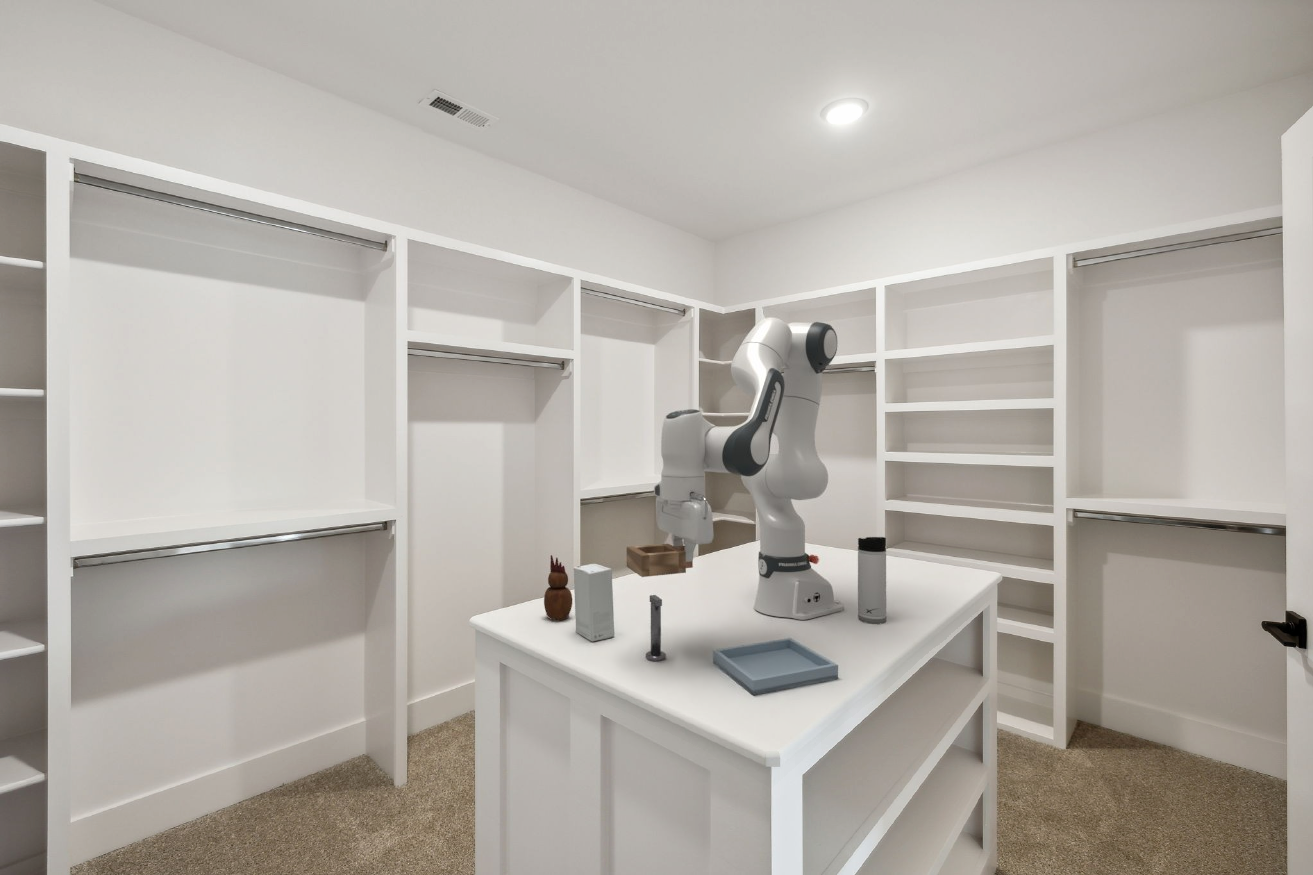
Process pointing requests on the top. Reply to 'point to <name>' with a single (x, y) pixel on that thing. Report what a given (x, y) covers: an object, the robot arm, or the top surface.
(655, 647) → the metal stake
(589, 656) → the top surface
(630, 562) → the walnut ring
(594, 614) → the skincare box
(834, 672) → the slate-blue tray
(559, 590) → the wooden figurine
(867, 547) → the travel mug
